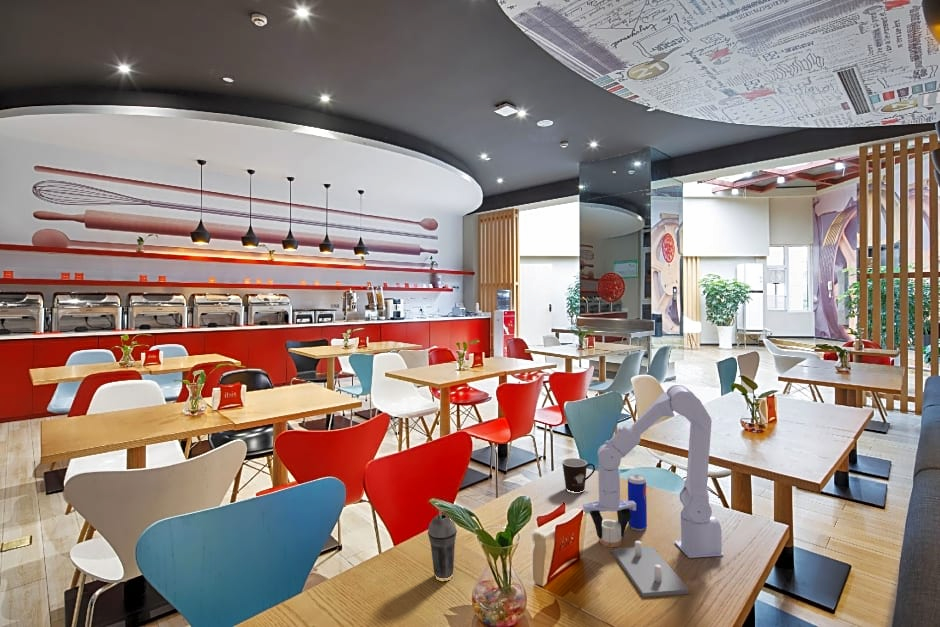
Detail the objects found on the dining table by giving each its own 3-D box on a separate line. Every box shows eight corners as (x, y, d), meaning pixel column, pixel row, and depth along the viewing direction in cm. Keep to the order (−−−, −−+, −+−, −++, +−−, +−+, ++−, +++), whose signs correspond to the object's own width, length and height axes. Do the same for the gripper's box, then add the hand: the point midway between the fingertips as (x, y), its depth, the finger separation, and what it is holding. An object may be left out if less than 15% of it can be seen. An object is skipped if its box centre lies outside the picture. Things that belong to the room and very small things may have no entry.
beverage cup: (462, 571, 121) (459, 494, 120) (452, 587, 114) (449, 506, 113) (436, 566, 123) (433, 491, 123) (424, 582, 117) (421, 503, 116)
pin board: (612, 552, 127) (612, 536, 127) (651, 549, 128) (651, 533, 128) (643, 597, 109) (642, 578, 108) (689, 593, 109) (689, 574, 109)
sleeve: (616, 535, 136) (615, 518, 136) (623, 546, 130) (623, 528, 130) (597, 537, 136) (596, 520, 135) (604, 547, 130) (603, 529, 130)
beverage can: (648, 531, 138) (647, 481, 137) (629, 530, 139) (628, 480, 138) (645, 523, 143) (644, 474, 142) (627, 522, 144) (626, 473, 143)
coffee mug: (563, 494, 165) (562, 466, 164) (562, 484, 173) (561, 457, 173) (597, 496, 163) (597, 467, 163) (595, 486, 171) (594, 458, 171)
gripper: (628, 481, 137) (629, 527, 138) (579, 484, 136) (580, 530, 136) (639, 491, 130) (639, 539, 130) (587, 494, 129) (588, 543, 129)
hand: (610, 535), depth 133 cm, fingers closed on sleeve, 6 cm apart
